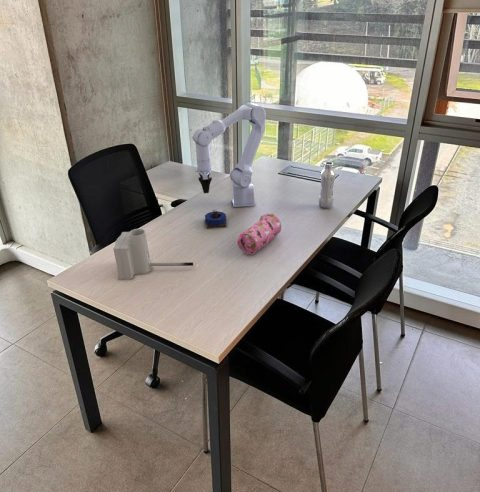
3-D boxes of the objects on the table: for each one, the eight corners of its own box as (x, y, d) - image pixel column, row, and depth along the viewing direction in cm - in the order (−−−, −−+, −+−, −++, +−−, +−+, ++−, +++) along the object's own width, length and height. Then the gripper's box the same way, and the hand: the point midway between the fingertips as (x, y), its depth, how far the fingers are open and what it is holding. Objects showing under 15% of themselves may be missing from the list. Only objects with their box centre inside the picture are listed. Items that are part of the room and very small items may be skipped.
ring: (225, 215, 197) (224, 210, 195) (226, 224, 189) (226, 219, 188) (204, 217, 196) (204, 212, 195) (205, 226, 189) (205, 221, 187)
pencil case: (262, 230, 186) (262, 210, 181) (282, 234, 182) (283, 214, 177) (235, 253, 170) (234, 232, 166) (257, 259, 166) (257, 237, 162)
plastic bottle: (316, 208, 202) (319, 164, 192) (320, 202, 208) (323, 160, 197) (331, 210, 200) (334, 166, 190) (334, 204, 205) (338, 161, 195)
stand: (224, 218, 196) (223, 206, 193) (226, 227, 190) (225, 213, 186) (206, 220, 196) (205, 207, 193) (207, 228, 189) (205, 215, 186)
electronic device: (126, 261, 168) (119, 224, 160) (195, 260, 167) (192, 223, 159) (117, 279, 158) (109, 241, 150) (191, 278, 157) (187, 240, 149)
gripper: (193, 154, 196) (196, 184, 204) (194, 165, 184) (197, 196, 191) (209, 153, 197) (211, 183, 204) (211, 164, 185) (213, 195, 192)
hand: (205, 189), depth 198 cm, fingers open, 7 cm apart
